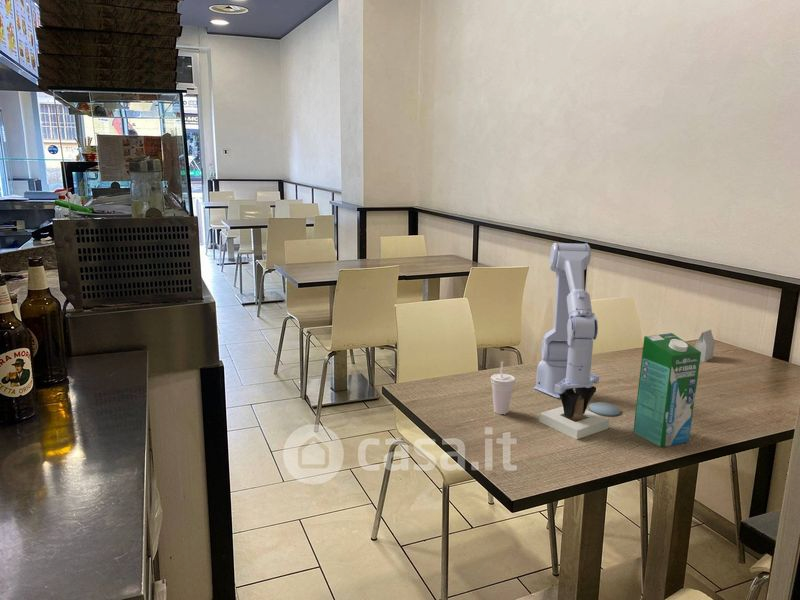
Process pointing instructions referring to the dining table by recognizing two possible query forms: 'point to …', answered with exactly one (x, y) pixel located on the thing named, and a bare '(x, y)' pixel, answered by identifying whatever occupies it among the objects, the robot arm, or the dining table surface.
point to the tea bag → (705, 345)
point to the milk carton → (666, 390)
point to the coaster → (604, 409)
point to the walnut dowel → (578, 410)
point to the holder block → (574, 423)
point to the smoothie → (502, 391)
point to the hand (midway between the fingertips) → (574, 414)
